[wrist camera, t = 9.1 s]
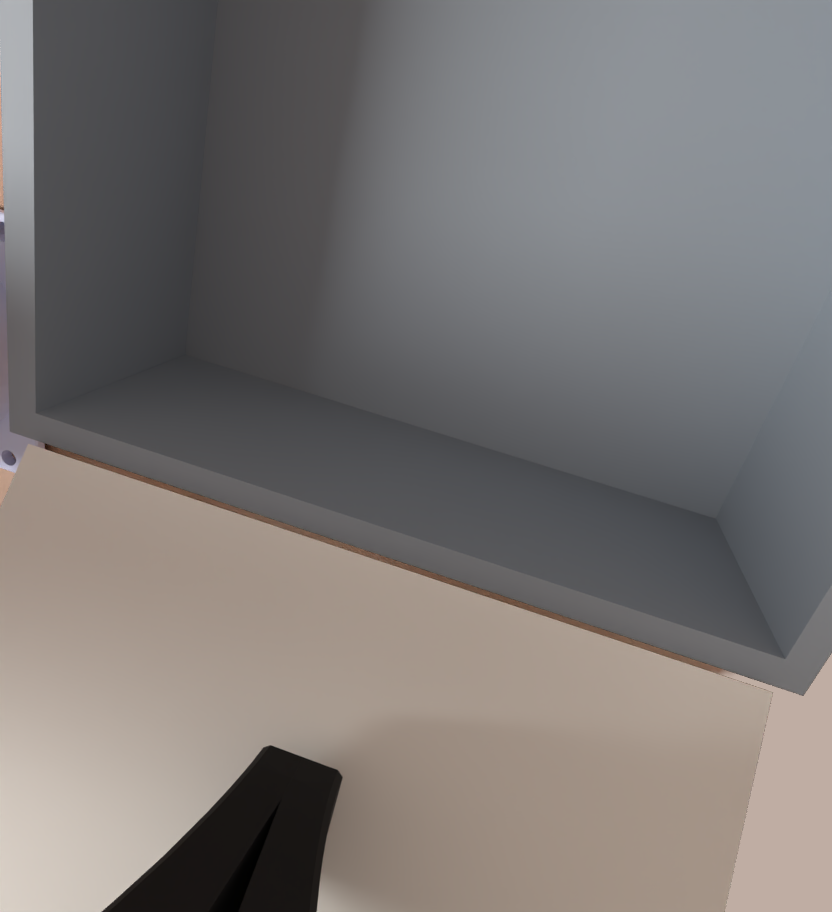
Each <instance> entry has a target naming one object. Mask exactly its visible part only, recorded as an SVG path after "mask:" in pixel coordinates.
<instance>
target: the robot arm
mask: <svg viewBox="0 0 832 912" xmlns="http://www.w3.org/2000/svg"><path fill="white" fill-rule="evenodd" d="M28 444H31V445H34V446H37V447H40V448H43V449H45V443H42V442H39V441H36V440H33V439H30V438H27V437H24V436H21V435H18V434H15V433H12V432H10V426H9V386H8V347H7V308H6V269H5V229H4V210H1V209H0V468H2V469H5V470H8V471H11V472H14V473H16V470H17V468H18V466H19V464H20V461H21V459H22V457H23V454H24V452H25V450H26V448H27V445H28ZM11 452H12V453H13V454H14V456H15V458H16V459H15V458H14V457H13V456H12V453H11ZM342 778H343V777H342V775H341V774H340V772H339V771H338V770H337V769H334V768H331V767H328V766H326V765H323V764H320V763H318V762H315V761H312V760H310V759H307V758H304V757H301V756H299V755H296V754H293V753H291V752H288V751H285V750H282V749H280V748H277V747H274V746H272V745H269V746H266V747H263V748H262V750H261V751H260V752H259V754H258V755H257V756H256V757H255V759H254V760H253V761H252V763H251V764H250V765H249V766H248V767H247V768H246V770H245V771H244V772H243V773H242V774H241V776H240V777H239V778H238V779H237V780H236V781H235V782H234V784H233V785H232V786H231V787H230V788H229V789H228V790H227V791H226V793H225V794H224V795H223V796H222V797H221V798H220V799H219V800H218V801H217V802H216V803H215V804H214V805H213V806H212V807H211V809H210V810H209V811H208V812H207V813H206V814H205V815H204V816H203V817H202V818H201V819H200V820H199V821H198V822H197V823H196V824H195V825H194V826H193V827H192V828H191V829H190V830H189V831H188V832H187V833H186V834H185V835H184V836H183V837H182V838H181V839H180V840H179V841H178V842H177V843H176V844H175V845H174V846H173V847H172V848H171V849H170V850H169V851H168V852H167V853H166V854H165V855H164V856H163V857H161V858H160V859H159V860H158V861H157V862H156V863H155V864H154V865H153V866H152V867H151V868H150V869H148V870H147V871H146V872H145V873H144V874H143V875H142V876H141V877H140V878H139V879H137V880H136V881H135V882H134V883H133V884H132V885H131V886H130V887H129V888H127V889H126V890H125V891H124V892H123V893H122V894H121V895H120V896H119V897H118V898H116V899H115V900H114V901H113V902H112V903H111V904H110V905H109V906H107V907H106V908H105V909H104V910H103V911H102V912H317V904H318V895H319V885H320V876H321V869H322V862H323V855H324V849H325V844H326V838H327V834H328V830H329V826H330V823H331V819H332V815H333V812H334V808H335V804H336V801H337V797H338V793H339V789H340V786H341V782H342Z"/></svg>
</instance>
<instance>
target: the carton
mask: <svg viewBox="0 0 832 912" xmlns="http://www.w3.org/2000/svg"><path fill="white" fill-rule="evenodd" d="M0 72H1V111H2V151H3V190H4V229H5V269H6V308H7V347H8V386H9V426H10V432H12V433H15V434H18V435H21V436H24V437H27V438H30V439H33V440H36V441H39V442H42V443H45V444H48V445H51V446H54V447H57V448H60V449H63V450H66V451H69V452H72V453H75V454H78V455H81V456H84V457H87V458H90V459H93V460H96V461H99V462H102V463H105V464H108V465H111V466H114V467H117V468H120V469H123V470H126V471H129V472H132V473H135V474H138V475H141V476H144V477H147V478H150V479H153V480H156V481H159V482H162V483H165V484H168V485H171V486H174V487H177V488H180V489H183V490H186V491H189V492H192V493H195V494H198V495H201V496H204V497H207V498H210V499H213V500H216V501H219V502H222V503H225V504H228V505H231V506H234V507H237V508H240V509H243V510H246V511H249V512H252V513H255V514H258V515H261V516H264V517H267V518H270V519H273V520H276V521H279V522H282V523H285V524H288V525H291V526H294V527H297V528H300V529H303V530H306V531H309V532H312V533H316V534H319V535H322V536H325V537H328V538H331V539H334V540H337V541H340V542H343V543H346V544H349V545H352V546H355V547H358V548H361V549H364V550H367V551H370V552H373V553H376V554H379V555H382V556H385V557H388V558H391V559H394V560H397V561H400V562H403V563H406V564H409V565H412V566H415V567H418V568H421V569H424V570H427V571H430V572H433V573H436V574H439V575H442V576H445V577H448V578H451V579H454V580H457V581H460V582H463V583H466V584H469V585H472V586H475V587H478V588H481V589H484V590H487V591H490V592H493V593H496V594H499V595H502V596H505V597H508V598H511V599H514V600H517V601H520V602H523V603H526V604H529V605H532V606H535V607H538V608H541V609H544V610H547V611H550V612H553V613H556V614H559V615H562V616H565V617H568V618H571V619H574V620H577V621H580V622H583V623H586V624H589V625H592V626H595V627H598V628H601V629H604V630H607V631H610V632H613V633H616V634H619V635H622V636H625V637H628V638H631V639H634V640H637V641H640V642H643V643H646V644H649V645H652V646H655V647H658V648H661V649H664V650H667V651H670V652H673V653H676V654H679V655H682V656H685V657H688V658H691V659H694V660H697V661H700V662H703V663H706V664H709V665H712V666H715V667H718V668H721V669H724V670H727V671H730V672H733V673H736V674H739V675H742V676H745V677H748V678H751V679H754V680H757V681H760V682H763V683H766V684H769V685H772V686H775V687H778V688H781V689H785V690H787V691H790V692H793V693H796V694H799V695H802V696H804V694H805V693H806V691H807V690H808V688H809V686H810V685H811V684H812V682H813V681H814V679H815V678H816V676H817V674H818V673H819V671H820V670H821V668H822V667H823V665H824V663H825V662H826V661H827V659H828V658H829V656H830V655H831V653H832V0H0Z"/></svg>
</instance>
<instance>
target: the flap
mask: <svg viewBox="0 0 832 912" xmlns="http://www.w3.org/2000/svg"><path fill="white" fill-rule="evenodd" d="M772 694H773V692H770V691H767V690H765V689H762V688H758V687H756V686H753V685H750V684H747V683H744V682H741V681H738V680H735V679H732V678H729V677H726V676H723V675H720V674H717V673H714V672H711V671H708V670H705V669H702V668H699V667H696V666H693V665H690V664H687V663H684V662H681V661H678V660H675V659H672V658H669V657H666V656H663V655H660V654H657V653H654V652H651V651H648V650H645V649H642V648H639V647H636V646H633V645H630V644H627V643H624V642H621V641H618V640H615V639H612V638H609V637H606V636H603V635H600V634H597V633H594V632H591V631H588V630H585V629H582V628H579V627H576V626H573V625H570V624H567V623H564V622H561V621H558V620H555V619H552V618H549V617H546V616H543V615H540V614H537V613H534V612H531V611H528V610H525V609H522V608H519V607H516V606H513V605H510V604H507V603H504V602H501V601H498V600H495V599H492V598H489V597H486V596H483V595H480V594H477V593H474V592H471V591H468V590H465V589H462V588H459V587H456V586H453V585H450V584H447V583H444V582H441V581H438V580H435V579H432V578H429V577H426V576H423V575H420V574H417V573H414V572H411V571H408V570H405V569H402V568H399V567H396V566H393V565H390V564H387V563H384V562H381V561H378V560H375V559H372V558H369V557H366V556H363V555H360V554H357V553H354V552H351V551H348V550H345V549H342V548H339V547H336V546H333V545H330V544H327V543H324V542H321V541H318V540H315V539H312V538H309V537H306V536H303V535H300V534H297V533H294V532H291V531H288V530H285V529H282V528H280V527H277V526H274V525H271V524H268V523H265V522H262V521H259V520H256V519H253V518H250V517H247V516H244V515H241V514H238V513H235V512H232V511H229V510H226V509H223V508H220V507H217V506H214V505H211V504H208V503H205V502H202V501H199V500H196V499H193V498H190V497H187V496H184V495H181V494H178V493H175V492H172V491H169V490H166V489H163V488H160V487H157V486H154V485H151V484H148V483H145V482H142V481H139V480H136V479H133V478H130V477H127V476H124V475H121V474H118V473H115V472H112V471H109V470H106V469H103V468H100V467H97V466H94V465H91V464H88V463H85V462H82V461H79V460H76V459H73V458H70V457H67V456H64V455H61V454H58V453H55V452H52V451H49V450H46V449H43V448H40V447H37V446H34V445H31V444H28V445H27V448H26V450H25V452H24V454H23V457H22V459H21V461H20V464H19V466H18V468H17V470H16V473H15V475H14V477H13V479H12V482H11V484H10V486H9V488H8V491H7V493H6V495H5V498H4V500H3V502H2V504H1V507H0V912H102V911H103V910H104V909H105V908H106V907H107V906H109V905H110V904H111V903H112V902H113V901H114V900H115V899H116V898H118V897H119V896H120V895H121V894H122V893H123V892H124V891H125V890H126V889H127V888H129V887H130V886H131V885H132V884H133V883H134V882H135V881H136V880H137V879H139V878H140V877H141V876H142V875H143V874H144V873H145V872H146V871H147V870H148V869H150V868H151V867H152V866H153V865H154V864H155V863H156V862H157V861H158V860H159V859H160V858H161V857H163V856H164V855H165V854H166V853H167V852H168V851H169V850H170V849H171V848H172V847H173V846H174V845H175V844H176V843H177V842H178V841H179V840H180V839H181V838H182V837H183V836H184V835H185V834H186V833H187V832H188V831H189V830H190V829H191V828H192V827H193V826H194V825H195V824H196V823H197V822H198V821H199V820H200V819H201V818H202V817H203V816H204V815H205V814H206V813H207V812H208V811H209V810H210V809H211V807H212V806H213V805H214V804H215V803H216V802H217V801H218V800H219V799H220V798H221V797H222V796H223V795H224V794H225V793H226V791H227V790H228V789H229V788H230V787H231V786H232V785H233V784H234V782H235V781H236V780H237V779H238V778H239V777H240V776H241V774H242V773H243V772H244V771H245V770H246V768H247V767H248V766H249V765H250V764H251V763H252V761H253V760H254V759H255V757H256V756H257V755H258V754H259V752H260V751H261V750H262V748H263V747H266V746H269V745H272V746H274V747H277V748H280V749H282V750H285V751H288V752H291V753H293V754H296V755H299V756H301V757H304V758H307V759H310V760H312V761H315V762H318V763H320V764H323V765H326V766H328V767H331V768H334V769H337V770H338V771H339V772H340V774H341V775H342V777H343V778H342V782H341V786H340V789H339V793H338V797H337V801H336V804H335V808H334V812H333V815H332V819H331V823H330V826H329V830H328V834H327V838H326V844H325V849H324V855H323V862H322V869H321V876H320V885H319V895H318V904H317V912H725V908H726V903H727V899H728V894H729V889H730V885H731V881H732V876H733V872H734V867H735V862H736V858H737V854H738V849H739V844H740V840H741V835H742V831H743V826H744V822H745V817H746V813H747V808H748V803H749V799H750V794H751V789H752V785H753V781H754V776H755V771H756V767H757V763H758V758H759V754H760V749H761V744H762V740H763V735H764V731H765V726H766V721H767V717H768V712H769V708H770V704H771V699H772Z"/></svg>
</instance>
